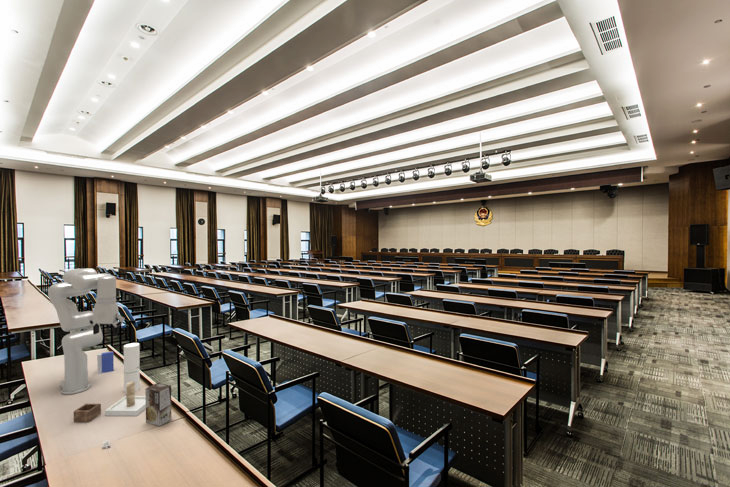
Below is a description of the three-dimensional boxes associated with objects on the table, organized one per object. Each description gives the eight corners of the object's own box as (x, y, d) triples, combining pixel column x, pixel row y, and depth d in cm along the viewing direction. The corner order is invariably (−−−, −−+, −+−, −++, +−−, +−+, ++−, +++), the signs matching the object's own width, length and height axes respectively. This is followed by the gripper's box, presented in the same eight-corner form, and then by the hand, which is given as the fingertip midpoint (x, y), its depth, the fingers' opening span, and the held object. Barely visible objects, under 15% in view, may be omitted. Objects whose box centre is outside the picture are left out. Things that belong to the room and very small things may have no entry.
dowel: (124, 406, 165) (124, 384, 164) (129, 403, 168) (129, 381, 168) (131, 406, 165) (131, 384, 164) (136, 403, 168) (136, 381, 168)
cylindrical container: (142, 387, 188) (142, 343, 188) (132, 393, 181) (132, 347, 180) (131, 386, 189) (130, 342, 188) (120, 392, 182) (120, 346, 181)
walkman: (113, 369, 211) (113, 350, 210) (113, 370, 209) (113, 351, 208) (97, 372, 206) (97, 353, 206) (97, 374, 204) (97, 354, 204)
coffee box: (172, 419, 158) (172, 385, 157) (159, 426, 152) (159, 391, 151) (157, 415, 161) (157, 382, 160) (145, 422, 155) (144, 388, 154)
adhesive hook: (109, 445, 139) (109, 438, 139) (112, 447, 137) (111, 440, 137) (100, 449, 136) (100, 441, 136) (102, 451, 135) (102, 444, 135)
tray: (104, 415, 159) (104, 410, 159) (125, 400, 173) (125, 396, 173) (137, 415, 160) (137, 410, 160) (154, 400, 174) (154, 396, 174)
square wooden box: (73, 422, 154) (73, 411, 153) (86, 413, 161) (85, 403, 160) (89, 422, 154) (89, 411, 154) (100, 413, 161) (100, 403, 161)
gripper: (82, 301, 164) (82, 335, 165) (118, 302, 165) (118, 337, 166) (94, 297, 172) (94, 330, 173) (129, 299, 172) (128, 332, 173)
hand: (106, 333), depth 169 cm, fingers open, 9 cm apart
